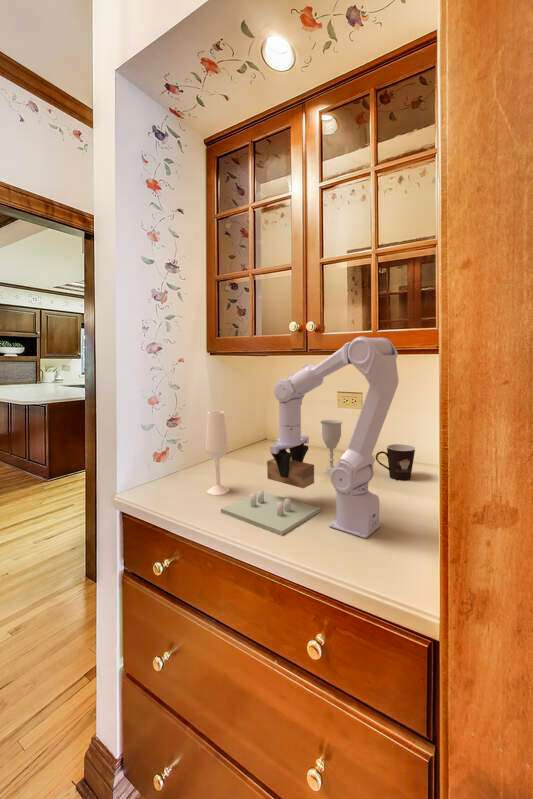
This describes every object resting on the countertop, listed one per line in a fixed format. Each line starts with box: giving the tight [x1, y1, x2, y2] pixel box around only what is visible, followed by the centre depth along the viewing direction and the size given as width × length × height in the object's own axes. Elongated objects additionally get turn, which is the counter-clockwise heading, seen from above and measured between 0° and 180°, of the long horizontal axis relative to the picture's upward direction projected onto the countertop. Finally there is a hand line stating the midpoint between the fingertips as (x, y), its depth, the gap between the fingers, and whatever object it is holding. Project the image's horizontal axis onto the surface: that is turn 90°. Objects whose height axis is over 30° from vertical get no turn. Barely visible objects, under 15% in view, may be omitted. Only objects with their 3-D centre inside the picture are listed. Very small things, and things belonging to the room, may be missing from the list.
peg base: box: [220, 490, 321, 536], centre depth 95 cm, size 20×16×4 cm
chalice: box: [320, 419, 343, 477], centre depth 123 cm, size 7×7×18 cm
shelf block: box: [266, 458, 315, 489], centre depth 99 cm, size 12×5×5 cm, turn 49°
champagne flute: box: [205, 410, 230, 496], centre depth 109 cm, size 7×7×24 cm
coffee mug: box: [375, 443, 416, 482], centre depth 120 cm, size 12×9×10 cm
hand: (290, 474), depth 99 cm, fingers closed on shelf block, 5 cm apart
